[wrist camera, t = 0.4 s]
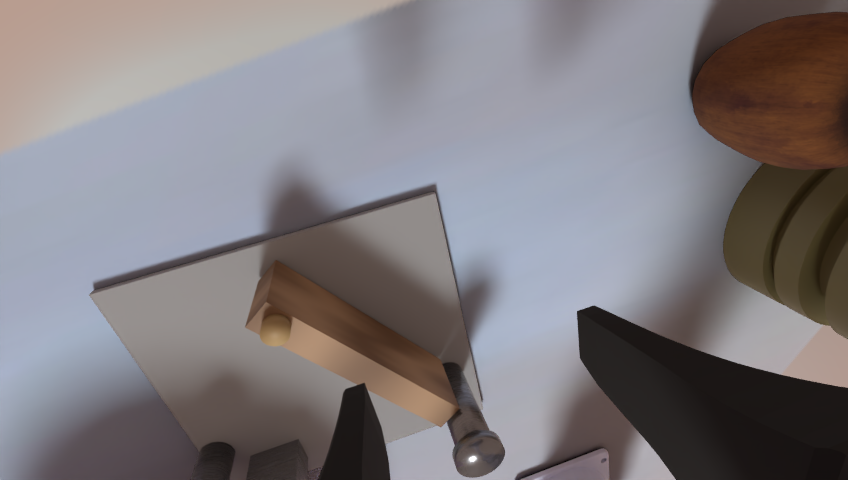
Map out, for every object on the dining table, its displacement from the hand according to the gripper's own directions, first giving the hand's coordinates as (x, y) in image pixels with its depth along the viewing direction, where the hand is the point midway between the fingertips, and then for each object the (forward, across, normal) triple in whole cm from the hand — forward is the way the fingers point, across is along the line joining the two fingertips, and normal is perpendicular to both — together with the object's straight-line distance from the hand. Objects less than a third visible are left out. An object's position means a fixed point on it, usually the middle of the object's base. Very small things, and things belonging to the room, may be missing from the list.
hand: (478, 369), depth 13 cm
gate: (+10, +4, +4) cm, 11 cm away
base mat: (+10, +7, +6) cm, 14 cm away
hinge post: (+10, 0, +10) cm, 14 cm away
